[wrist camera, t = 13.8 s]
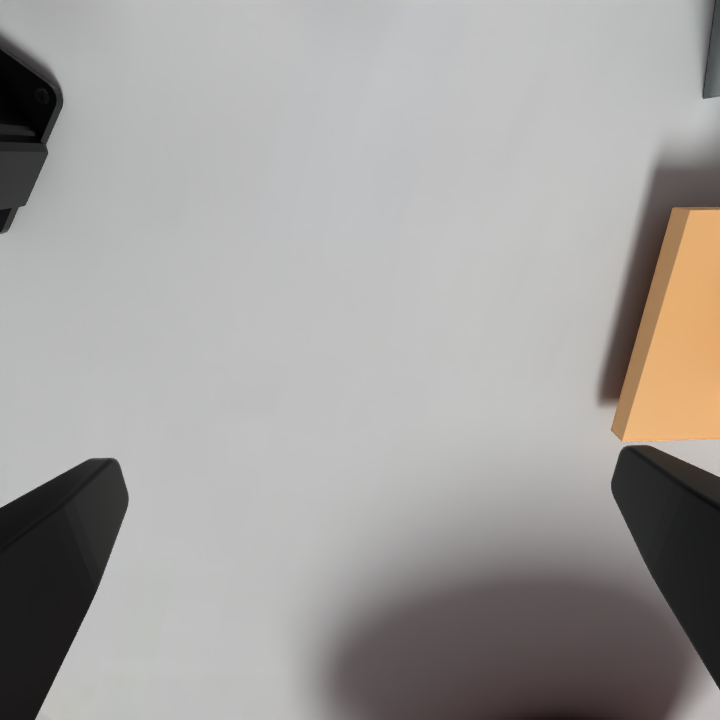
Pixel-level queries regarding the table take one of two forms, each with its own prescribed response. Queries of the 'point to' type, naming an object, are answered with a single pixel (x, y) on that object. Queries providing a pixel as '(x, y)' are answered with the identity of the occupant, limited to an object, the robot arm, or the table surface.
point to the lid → (678, 339)
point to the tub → (714, 58)
